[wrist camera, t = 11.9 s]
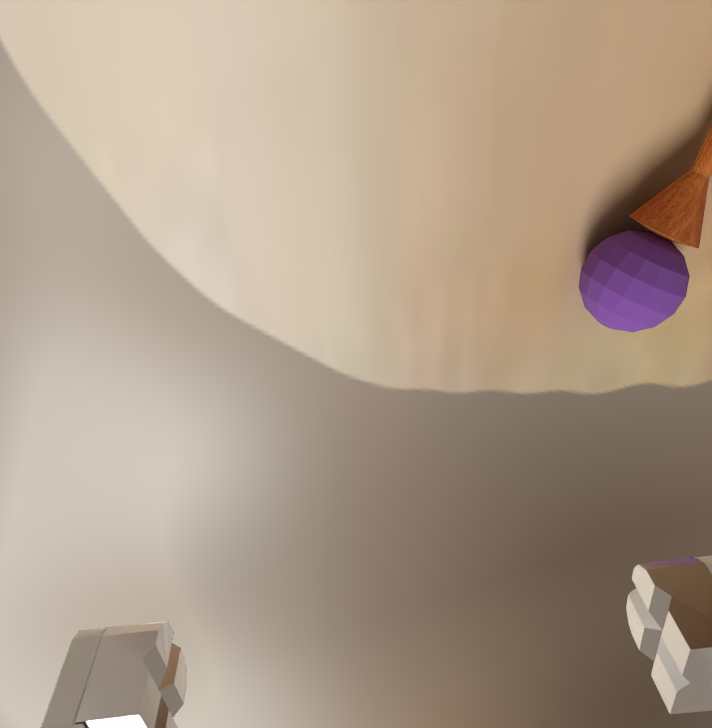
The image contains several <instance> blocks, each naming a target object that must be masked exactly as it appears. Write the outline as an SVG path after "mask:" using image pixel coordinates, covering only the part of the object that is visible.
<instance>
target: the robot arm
mask: <svg viewBox="0 0 712 728" xmlns="http://www.w3.org/2000/svg"><path fill="white" fill-rule="evenodd" d="M632 580H633V582H634V584H635V586H636V588H635V589H634V590H633V591H632V592H631V593H630V594H629V595H628V600H627V606H626V608H627V616H628V623H629V626H630V629H631V632H632V635H633V638H634V640H635V642H636V644H637V646H638V648H639V650H640V651H641V652H642V653H644V654H645V655H646V656H648V657H649V658H650V659H652V660H653V661H654V665H653V669H652V674H651V676H652V678H653V680H654V682H655V684H656V686H657V688H658V690H659V692H660V694H661V696H662V698H663V700H664V703H665V705H666V707H667V709H668V711H669V713H670V714H677V713H688V712H699V711H710V710H712V556H705V557H699V558H693V557H690V558H682V559H675V560H668V561H660V562H653V563H645V564H638V565H637V566H636V567H635V568H634V570H633V575H632ZM173 635H174V632H173V630H172V628H171V626H170V624H169V622H157V623H147V624H137V625H128V626H119V627H106V628H97V629H90V630H81V631H78V633H77V634H76V636H75V637H74V638H73V640H72V641H71V644H70V647H69V650H68V652H67V655H66V658H65V661H64V664H63V666H62V669H61V672H60V675H59V677H58V680H57V683H56V686H55V688H54V691H53V694H52V697H51V700H50V702H49V705H48V708H47V711H46V714H45V716H44V719H43V722H42V725H41V727H40V728H177V726H176V723H175V721H174V719H173V717H174V715H175V714H176V713H177V712H178V710H179V709H180V707H182V705H183V704H184V698H185V692H186V664H185V658H184V655H183V652H182V650H181V648H180V647H178V646H176V645H174V644H173V643H172V640H173Z"/></svg>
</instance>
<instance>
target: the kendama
mask: <svg viewBox="0 0 712 728" xmlns="http://www.w3.org/2000/svg"><path fill="white" fill-rule="evenodd" d="M711 175H712V125H711V127H710V129H709V131H708V134H707V136H706V138H705V140H704V142H703V144H702V146H701V148H700V150H699V152H698V154H697V156H696V158H695V160H694V162H693V165H692V167H691V169H690V170H689V171H688V172H686V173H685V174H684V175H682V176H681V177H680V178H678V179H677V180H676V181H674V182H673V183H672V184H670V185H669V186H668V187H666V188H665V189H664V190H662V191H661V192H660V193H658V194H657V195H656V196H654V197H653V198H652V199H650V200H649V201H648V202H646V203H645V204H644V205H642V206H641V207H640V208H638V209H637V210H636V211H634V212H633V213H632V214H630V215H629V216H630V217H631V218H633V219H634V220H635V221H637V222H638V223H640V224H641V225H642V226H644V227H645V228H647V229H648V230H649V231H634V230H628V231H625V232H622V233H619V234H615V235H612V236H609V237H607V238H606V239H605V240H604V241H602V242H601V243H600V244H598V245H597V246H596V247H595V248H593V249H592V250H591V252H590V254H589V255H588V257H587V259H586V260H585V262H584V264H583V266H582V267H581V275H580V282H579V289H580V293H581V296H582V299H583V303H584V306H585V308H586V309H587V310H588V311H589V312H590V313H591V314H592V315H593V317H594V318H595V319H596V320H597V321H598V322H599V323H601V324H602V325H604V326H606V327H608V328H611V329H617V330H623V331H629V332H635V331H639V330H643V329H648V328H652V327H655V326H657V325H658V324H660V323H661V322H663V321H664V320H666V319H667V318H669V317H670V316H672V315H673V314H674V313H675V312H676V310H677V309H678V307H679V306H680V304H681V303H682V301H683V300H684V298H685V297H686V293H687V287H688V281H689V273H688V269H687V265H686V262H685V258H684V256H683V255H682V253H681V252H680V251H679V250H678V249H677V248H676V246H675V245H674V244H673V243H672V242H671V241H674V242H677V243H681V244H684V245H688V246H692V247H695V248H699V244H700V237H701V230H702V223H703V216H704V209H705V202H706V195H707V188H708V181H709V177H710V176H711Z"/></svg>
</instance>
